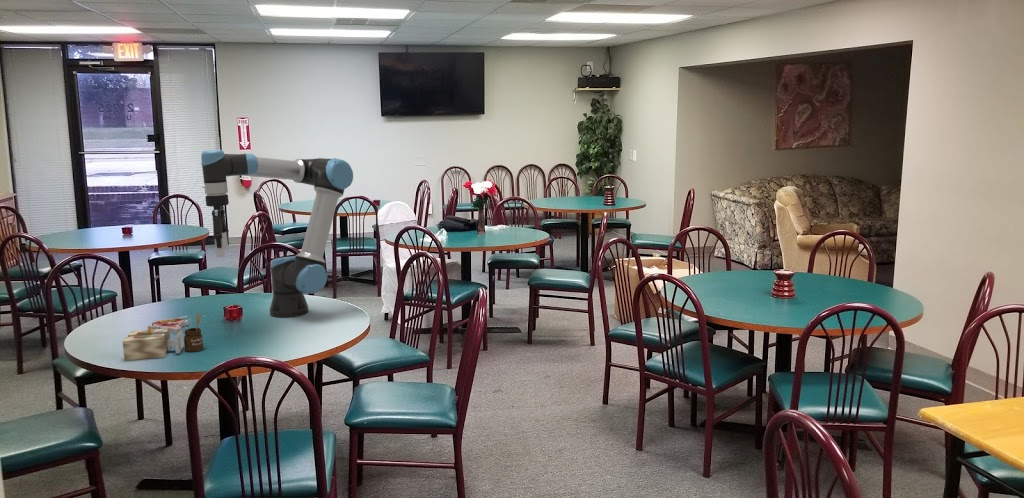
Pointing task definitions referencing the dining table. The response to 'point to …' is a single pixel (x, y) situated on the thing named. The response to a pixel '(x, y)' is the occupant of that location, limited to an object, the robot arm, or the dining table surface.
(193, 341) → the utensil holder
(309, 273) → the robot arm
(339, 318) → the dining table surface
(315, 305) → the dining table surface
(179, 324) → the toy
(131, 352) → the beige box
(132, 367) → the dining table surface
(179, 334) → the grey flanged cylinder
